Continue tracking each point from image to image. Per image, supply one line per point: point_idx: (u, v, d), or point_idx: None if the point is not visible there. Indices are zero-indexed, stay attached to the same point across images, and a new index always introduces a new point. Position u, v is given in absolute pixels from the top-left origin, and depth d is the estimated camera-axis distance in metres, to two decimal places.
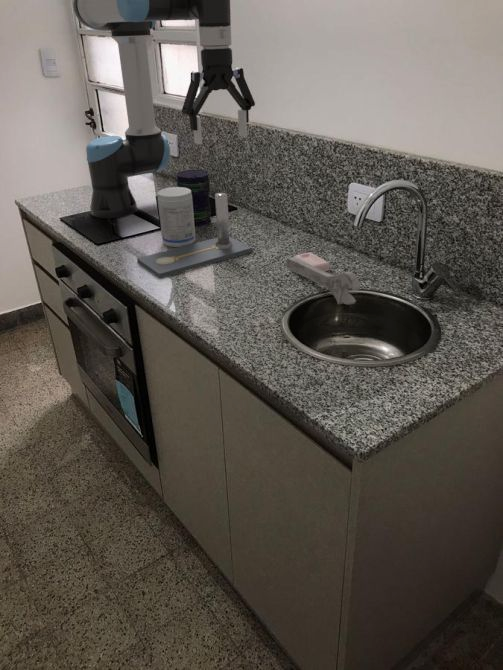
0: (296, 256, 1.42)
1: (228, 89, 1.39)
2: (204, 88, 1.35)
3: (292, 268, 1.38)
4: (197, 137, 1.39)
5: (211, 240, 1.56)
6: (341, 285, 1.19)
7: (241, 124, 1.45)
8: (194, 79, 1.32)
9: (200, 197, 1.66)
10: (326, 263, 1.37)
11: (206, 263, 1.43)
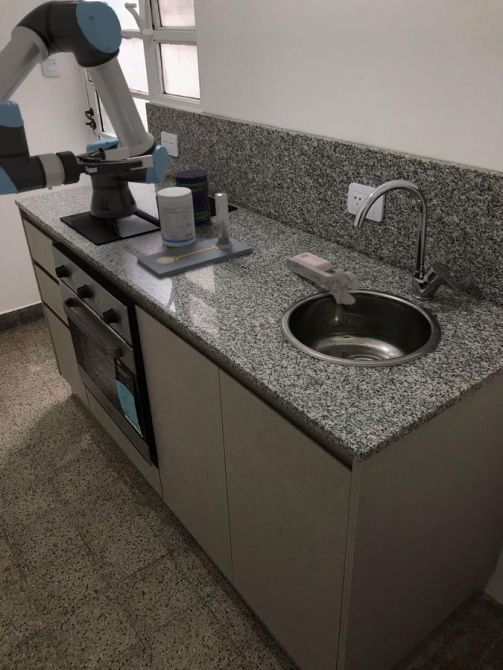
0: (295, 257, 1.41)
1: None
2: None
3: (292, 268, 1.38)
4: None
5: (211, 240, 1.56)
6: (341, 285, 1.19)
7: None
8: None
9: (199, 197, 1.66)
10: (327, 262, 1.38)
11: (206, 263, 1.43)
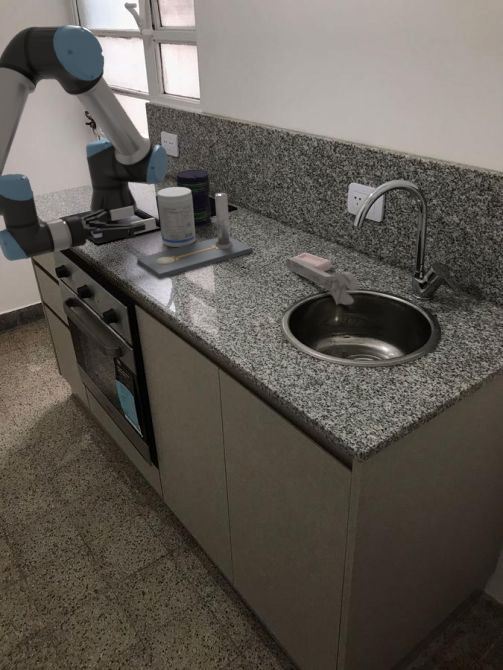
0: None
1: None
2: None
3: (292, 268, 1.38)
4: None
5: (211, 240, 1.56)
6: (339, 285, 1.19)
7: None
8: None
9: (200, 198, 1.66)
10: (328, 261, 1.38)
11: (206, 263, 1.43)
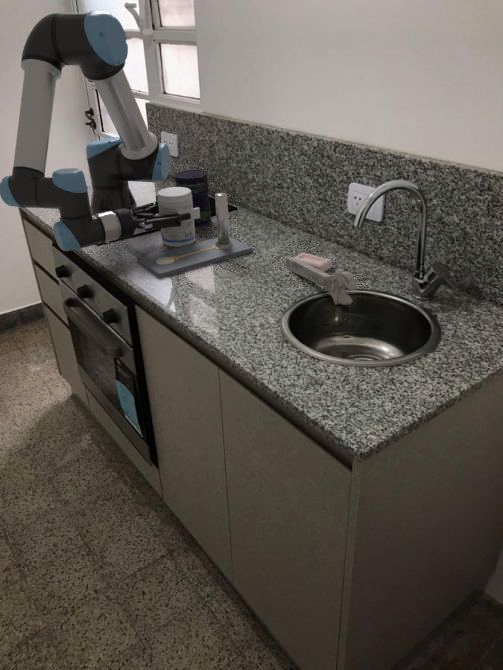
0: None
1: None
2: None
3: (291, 268, 1.38)
4: None
5: (211, 240, 1.56)
6: (338, 285, 1.19)
7: None
8: None
9: (200, 198, 1.66)
10: (329, 260, 1.39)
11: (206, 263, 1.43)
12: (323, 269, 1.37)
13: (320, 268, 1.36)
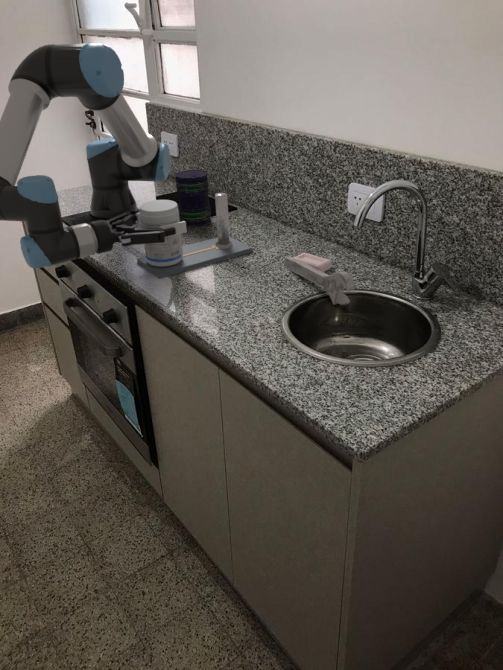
0: None
1: None
2: None
3: (290, 268, 1.38)
4: None
5: (211, 240, 1.56)
6: (336, 285, 1.19)
7: None
8: None
9: (200, 197, 1.67)
10: (329, 261, 1.39)
11: (206, 263, 1.43)
12: (322, 269, 1.37)
13: (319, 268, 1.36)
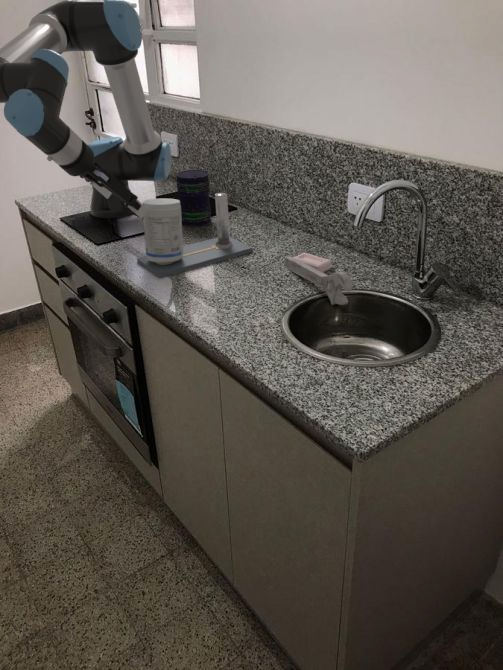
0: None
1: None
2: None
3: (290, 267, 1.38)
4: None
5: (211, 240, 1.56)
6: (334, 285, 1.19)
7: None
8: None
9: (201, 198, 1.67)
10: (329, 261, 1.38)
11: (206, 263, 1.43)
12: (322, 269, 1.37)
13: (318, 268, 1.36)
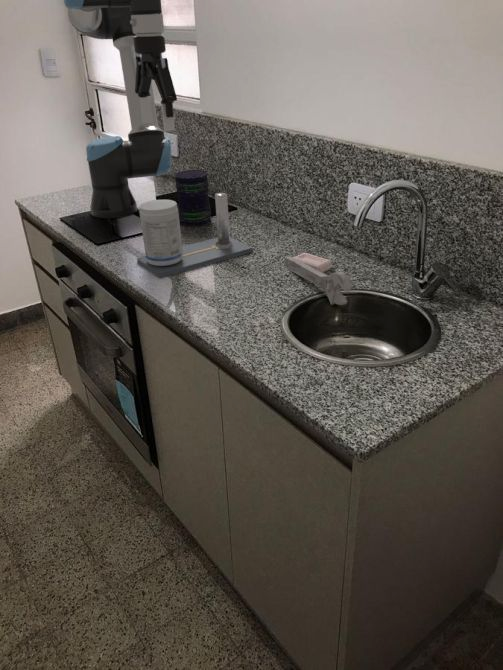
0: None
1: None
2: None
3: (290, 267, 1.38)
4: None
5: (211, 240, 1.56)
6: (333, 285, 1.19)
7: None
8: None
9: (201, 197, 1.67)
10: (328, 261, 1.38)
11: (206, 263, 1.43)
12: (321, 269, 1.37)
13: (318, 268, 1.36)
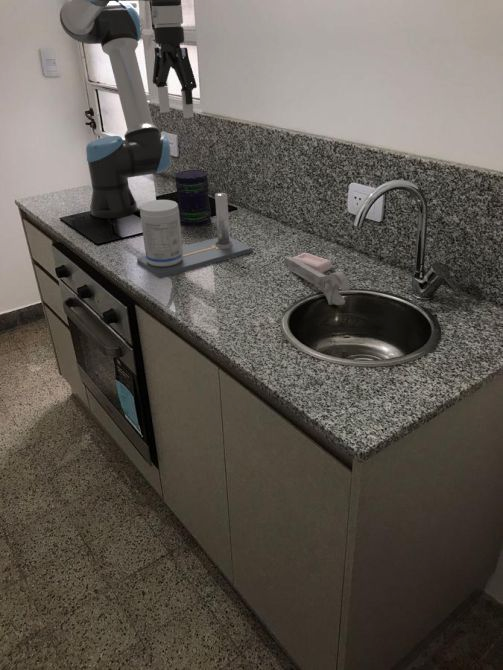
0: None
1: None
2: None
3: (289, 267, 1.39)
4: None
5: (211, 240, 1.56)
6: (331, 285, 1.19)
7: None
8: None
9: (201, 197, 1.67)
10: (328, 261, 1.38)
11: (206, 263, 1.43)
12: (321, 270, 1.37)
13: (318, 268, 1.36)
